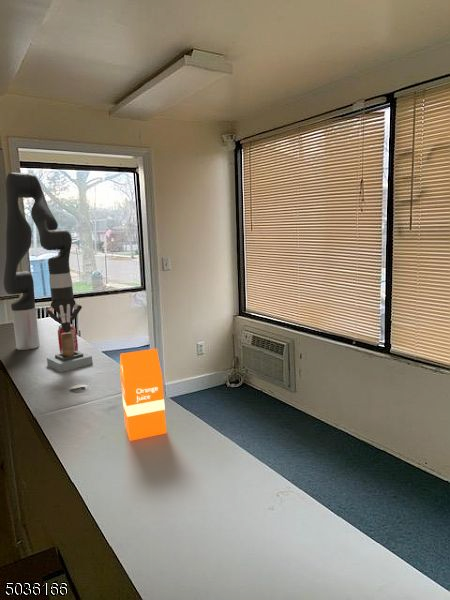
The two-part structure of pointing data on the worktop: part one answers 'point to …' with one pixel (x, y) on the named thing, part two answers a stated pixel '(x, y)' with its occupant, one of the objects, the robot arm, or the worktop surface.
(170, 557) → the worktop surface
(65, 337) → the dowel
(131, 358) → the orange juice
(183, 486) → the worktop surface
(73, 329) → the soda can
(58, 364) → the socket
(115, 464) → the worktop surface
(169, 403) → the worktop surface
